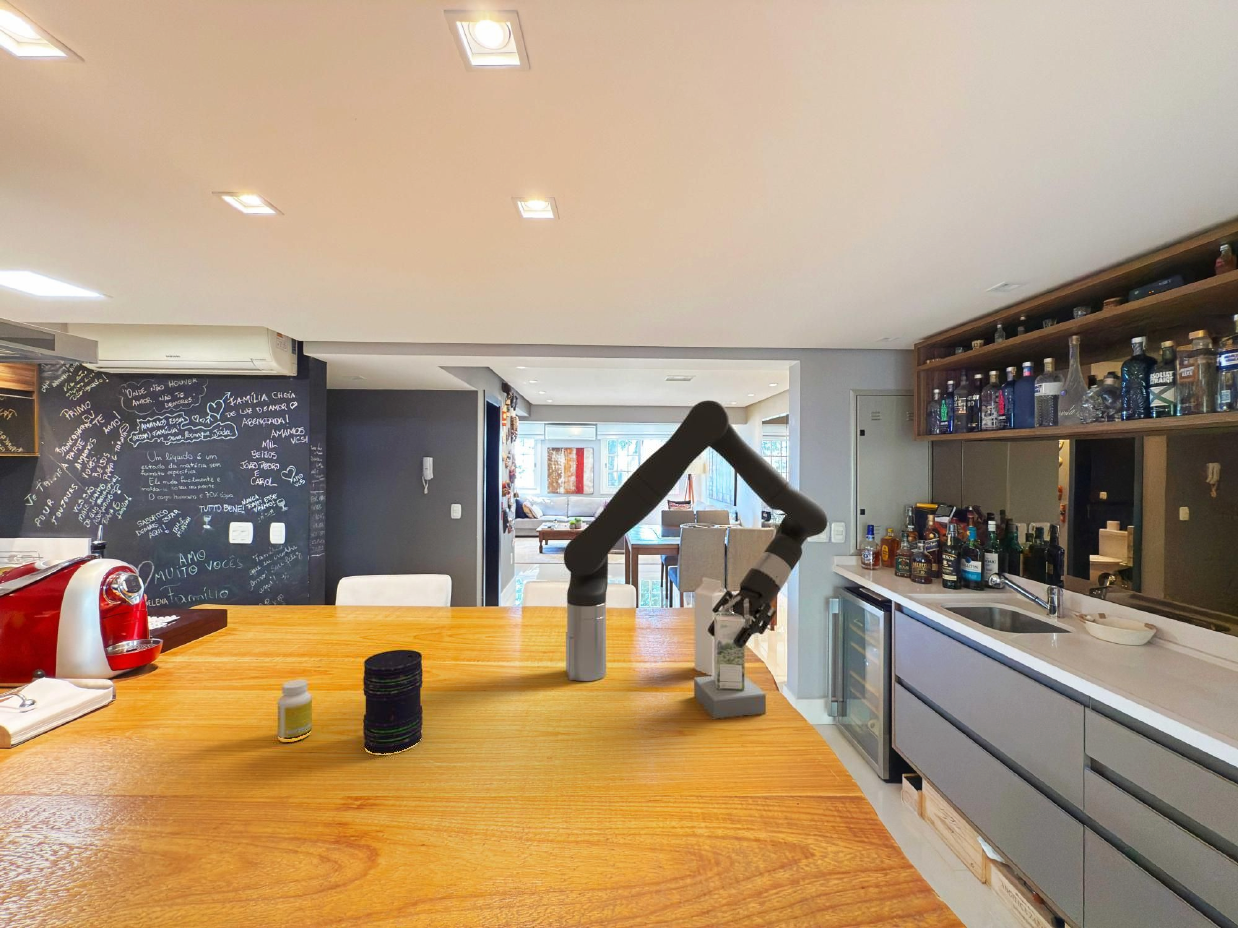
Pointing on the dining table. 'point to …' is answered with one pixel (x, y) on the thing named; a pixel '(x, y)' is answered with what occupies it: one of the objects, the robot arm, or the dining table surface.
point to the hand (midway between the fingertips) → (723, 639)
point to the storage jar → (392, 701)
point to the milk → (705, 623)
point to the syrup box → (728, 652)
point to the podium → (729, 698)
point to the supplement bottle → (294, 710)
